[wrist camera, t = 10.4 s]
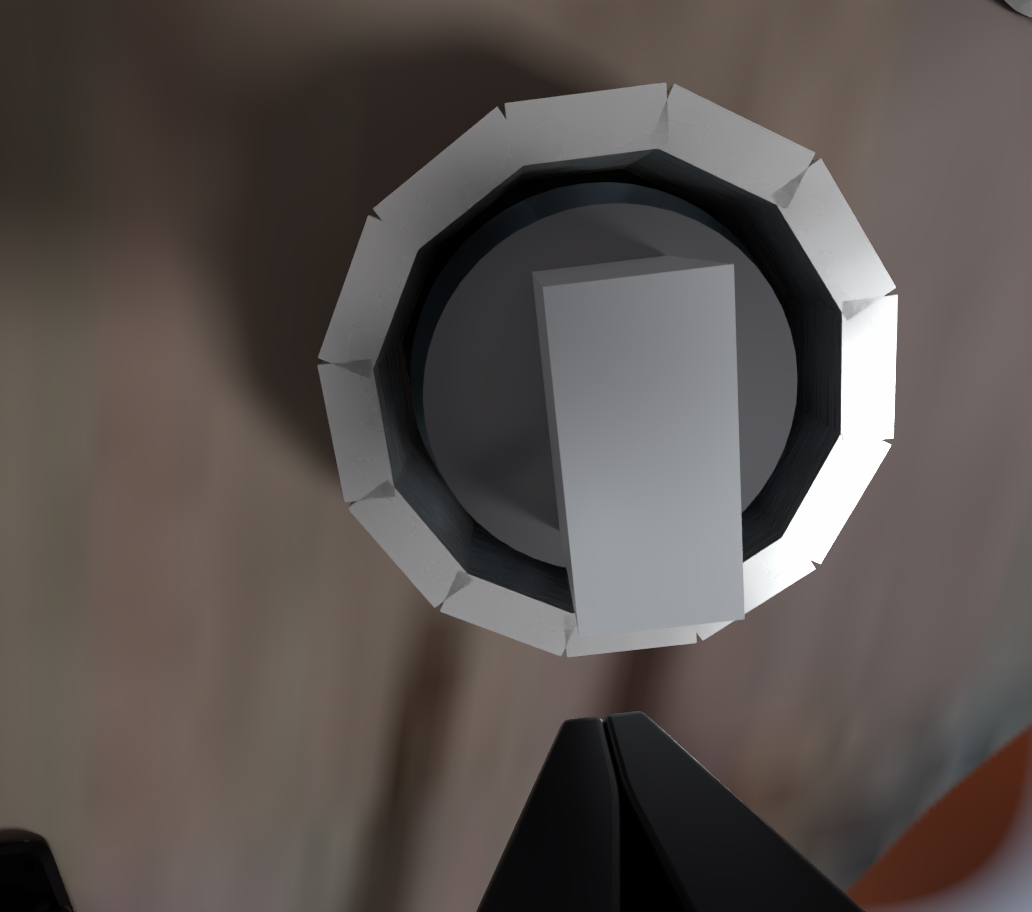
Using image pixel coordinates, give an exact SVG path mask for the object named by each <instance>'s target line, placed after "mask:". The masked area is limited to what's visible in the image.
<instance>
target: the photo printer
mask: <svg viewBox="0 0 1032 912" xmlns="http://www.w3.org/2000/svg"><path fill="white" fill-rule="evenodd" d="M1004 1H1006V2H1007V3H1008V4H1009V5H1010V6H1011V7H1012V8H1013V9H1014V10H1016V11H1018V12H1020V13H1021V14H1023V15H1026V16H1028V17H1031V18H1032V0H1004Z"/></svg>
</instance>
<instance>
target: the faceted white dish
mask: <svg viewBox="0 0 1032 912" xmlns="http://www.w3.org/2000/svg"><path fill="white" fill-rule="evenodd" d="M814 155H815V152H813V151H811V150H809V149H806V148H804V147H802V146H800V145H798V144H796V143H794V142H792V141H790V140H788V139H786V138H784V137H782V136H780V135H778V134H776V133H774V132H772V131H770V130H768V129H766V128H764V127H762V126H760V125H758V124H755V123H753V122H751V121H749V120H747V119H745V118H743V117H741V116H739V115H737V114H735V113H733V112H731V111H729V110H727V109H725V108H723V107H721V106H719V105H717V104H715V103H713V102H711V101H709V100H707V99H704V98H702V97H700V96H698V95H696V94H694V93H692V92H690V91H688V90H686V89H684V88H682V87H680V86H678V85H676V84H673V85H672V86H671V87H670V88H669V89H668V90H667V88H666V82H665V83H657V84H650V85H642V86H634V87H626V88H619V89H611V90H603V91H595V92H587V93H580V94H572V95H564V96H556V97H548V98H541V99H533V100H525V101H517V102H510V103H505V117H504V116H503V114H502V113H501V111H500V110H499V108H498V107H496V108H495V109H493V110H492V111H491V112H490V113H489V114H487V115H486V116H485V117H484V118H482V119H481V120H480V121H479V122H478V123H476V124H475V125H474V126H473V127H471V128H470V129H469V130H468V131H467V132H465V133H464V134H463V135H462V136H461V137H459V138H458V139H457V140H456V141H454V142H453V143H452V144H451V145H450V146H448V147H447V148H446V149H445V150H443V151H442V152H441V153H440V154H439V155H437V156H436V157H435V158H434V159H433V160H431V161H430V162H429V163H428V164H426V165H425V166H424V167H423V168H422V169H420V170H419V171H418V172H417V173H415V174H414V175H413V176H412V177H411V178H409V179H408V180H407V181H406V182H405V183H403V184H402V185H401V186H400V187H398V188H397V189H396V190H395V191H394V192H392V193H391V194H390V195H389V196H387V197H386V198H385V199H384V200H383V201H381V202H380V203H379V204H378V205H377V206H375V207H374V208H373V210H374V211H375V212H376V214H377V215H378V216H379V217H378V216H371V215H368V217H367V220H366V223H365V226H364V228H363V231H362V234H361V237H360V240H359V243H358V245H357V248H356V251H355V254H354V257H353V260H352V262H351V265H350V268H349V271H348V274H347V277H346V279H345V282H344V285H343V288H342V291H341V294H340V296H339V299H338V302H337V305H336V308H335V311H334V313H333V316H332V319H331V322H330V325H329V328H328V330H327V333H326V336H325V339H324V342H323V345H322V347H321V350H320V353H319V356H318V358H319V359H322V360H324V361H323V362H321V363H320V364H318V365H317V366H318V371H319V376H320V381H321V386H322V391H323V396H324V401H325V406H326V411H327V416H328V421H329V426H330V431H331V436H332V441H333V446H334V451H335V456H336V462H337V467H338V472H339V477H340V482H341V487H342V492H343V497H344V502H351V504H350V505H349V507H348V509H349V511H350V512H351V513H352V514H353V515H354V516H355V517H356V519H357V520H358V521H359V522H360V523H361V524H362V525H363V527H364V528H365V529H366V530H367V531H368V532H369V533H370V535H371V536H372V537H373V538H374V539H375V540H376V541H377V543H378V544H379V545H380V546H381V547H382V548H383V549H384V551H385V552H386V553H387V554H388V555H389V556H390V557H391V559H392V560H393V561H394V562H395V563H396V564H397V565H398V567H399V568H400V569H401V570H402V571H403V572H404V573H405V575H406V576H407V577H408V578H409V579H410V580H411V581H412V583H413V584H414V585H415V586H416V587H417V588H418V589H419V591H420V592H421V593H422V594H423V595H424V596H425V597H426V599H427V600H428V601H429V602H430V603H431V604H432V605H433V607H434V608H435V607H436V606H438V605H439V604H441V608H440V612H443V613H445V614H448V615H451V616H453V617H456V618H459V619H461V620H464V621H467V622H469V623H472V624H475V625H478V626H480V627H483V628H486V629H488V630H491V631H494V632H496V633H499V634H502V635H504V636H507V637H510V638H512V639H515V640H518V641H520V642H523V643H526V644H529V645H531V646H534V647H537V648H539V649H542V650H545V651H547V652H550V653H553V654H555V655H558V656H561V655H562V653H563V651H564V649H565V647H566V652H567V657H574V656H583V655H592V654H601V653H610V652H619V651H628V650H637V649H646V648H655V647H664V646H673V645H682V644H691V643H697V641H696V632H697V634H698V635H699V636H700V638H701V639H702V640H705V639H706V638H708V637H709V636H711V635H712V634H714V633H716V632H717V631H719V630H720V629H722V628H723V627H725V626H727V625H728V624H730V623H731V622H733V621H725V622H716V623H707V624H698V625H689V626H680V627H671V628H662V629H653V630H644V631H635V632H626V633H617V634H607V635H598V636H589V637H580V638H579V634H578V628H577V623H576V617H575V612H574V607H573V601H572V596H571V590H570V585H569V579H568V574H567V568H566V567H561V566H556V565H553V564H550V563H547V562H543V561H540V560H537V559H534V558H532V557H530V556H528V555H526V554H524V553H522V552H519V551H517V550H515V549H513V548H512V547H510V546H509V545H507V544H505V543H504V542H502V541H501V540H499V539H497V538H496V537H495V536H493V535H492V534H491V533H490V532H488V531H487V530H486V529H485V528H484V527H482V526H481V525H480V524H479V523H478V522H477V521H476V520H475V519H474V518H473V517H472V516H471V515H470V514H469V513H468V512H467V511H466V510H465V508H464V507H463V506H462V505H461V504H460V502H459V501H458V499H457V498H456V497H455V495H454V494H453V492H452V491H451V490H450V488H449V486H448V485H447V483H446V481H445V479H444V477H443V475H442V473H441V471H440V470H439V468H438V465H437V462H436V460H435V457H434V454H433V452H432V449H431V446H430V442H429V438H428V434H427V429H426V425H425V417H424V406H423V384H424V371H425V366H426V360H427V354H428V349H429V346H430V343H431V340H432V337H433V334H434V331H435V328H436V325H437V323H438V321H439V319H440V317H441V315H442V313H443V310H444V308H445V306H446V304H447V302H448V301H449V299H450V298H451V296H452V295H453V293H454V292H455V290H456V289H457V287H458V286H459V284H460V282H461V281H462V280H463V279H464V278H465V276H466V275H467V274H468V273H469V272H470V271H471V269H472V268H473V267H474V266H475V265H476V264H477V263H478V261H480V260H481V259H482V258H483V257H484V256H485V255H486V254H487V253H488V252H489V251H491V250H492V249H493V248H494V247H495V246H496V245H497V244H498V243H500V242H501V241H503V240H504V239H506V238H507V237H509V236H510V235H512V234H513V233H515V232H516V231H518V230H520V229H522V228H524V227H526V226H528V225H530V224H532V223H534V222H536V221H538V220H540V219H542V218H545V217H548V216H551V215H553V214H556V213H559V212H562V211H565V210H568V209H573V208H579V207H584V206H589V205H594V204H613V203H626V204H637V205H648V206H652V207H656V208H661V209H665V210H669V211H673V212H676V213H678V214H681V215H684V216H686V217H689V218H691V219H694V220H696V221H698V222H700V223H702V224H704V225H705V226H707V227H709V228H711V229H713V230H714V231H716V232H718V233H719V234H721V235H722V236H723V237H725V238H726V239H727V240H729V241H730V242H731V243H732V244H734V245H735V246H736V247H738V248H739V249H740V250H741V251H742V252H743V253H744V254H745V255H746V256H747V257H748V258H749V259H750V260H751V261H752V262H753V263H754V264H755V265H756V267H757V268H758V269H759V271H760V272H761V273H762V275H763V276H764V278H765V279H766V280H767V282H768V283H769V284H770V286H771V287H772V289H773V291H774V293H775V295H776V297H777V299H778V301H779V303H780V304H781V306H782V308H783V311H784V314H785V317H786V319H787V322H788V325H789V328H790V330H791V335H792V339H793V344H794V349H795V353H796V365H797V378H798V380H797V396H796V406H795V411H794V416H793V421H792V427H791V430H790V433H789V436H788V439H787V442H786V445H785V448H784V450H783V452H782V454H781V456H780V459H779V461H778V463H777V465H776V467H775V469H774V471H773V473H772V474H771V476H770V477H769V479H768V480H767V482H766V483H765V485H764V487H763V488H762V490H761V491H760V492H759V494H758V495H757V496H756V497H755V498H754V500H753V501H752V502H751V503H750V504H749V506H748V507H747V508H746V509H745V510H744V511H743V512H742V513H741V517H742V550H743V583H744V614H745V613H747V612H749V611H750V610H752V609H753V608H755V607H756V606H758V605H760V604H761V603H763V602H764V601H766V600H768V599H769V598H771V597H772V596H774V595H775V594H777V593H779V592H780V591H782V590H783V589H785V588H786V587H788V586H790V585H791V584H793V583H794V582H796V581H797V580H799V579H801V578H802V577H804V576H805V575H807V574H808V573H810V572H812V571H813V570H815V569H816V568H815V567H814V565H813V564H812V563H811V561H810V560H812V561H815V562H817V563H820V564H821V562H822V561H823V559H824V557H825V556H826V554H827V552H828V551H829V549H830V547H831V546H832V544H833V542H834V540H835V539H836V537H837V535H838V534H839V532H840V530H841V529H842V527H843V525H844V524H845V522H846V520H847V519H848V517H849V515H850V514H851V512H852V510H853V509H854V507H855V505H856V504H857V502H858V500H859V498H860V497H861V495H862V493H863V492H864V490H865V488H866V487H867V485H868V483H869V482H870V480H871V478H872V477H873V475H874V473H875V472H876V470H877V468H878V467H879V465H880V463H881V462H882V460H883V458H884V456H885V455H886V453H887V451H888V450H889V448H890V446H891V444H889V443H887V442H885V441H883V440H882V439H890V438H893V436H894V403H895V371H896V339H897V306H898V295H897V294H890V293H889V292H890V291H892V290H893V289H895V288H896V286H895V285H894V283H893V281H892V280H891V278H890V276H889V274H888V273H887V271H886V269H885V268H884V266H883V264H882V262H881V261H880V259H879V257H878V255H877V254H876V252H875V250H874V249H873V247H872V245H871V243H870V242H869V240H868V238H867V237H866V235H865V233H864V231H863V230H862V228H861V226H860V224H859V223H858V221H857V219H856V218H855V216H854V214H853V212H852V211H851V209H850V207H849V205H848V204H847V202H846V200H845V199H844V197H843V195H842V193H841V192H840V190H839V188H838V187H837V185H836V183H835V181H834V180H833V178H832V176H831V174H830V173H829V171H828V169H827V168H826V166H825V164H824V162H823V161H822V159H821V158H820V159H816V160H812V159H813V157H814ZM617 169H624V170H626V171H628V172H630V173H632V174H634V175H637V176H639V177H641V178H643V179H645V180H647V181H649V182H652V183H654V184H656V185H658V186H660V187H662V188H664V189H666V190H669V191H671V192H673V193H675V194H677V195H679V196H681V197H683V198H686V199H688V200H690V201H692V202H694V203H696V204H698V205H701V206H703V207H705V208H707V209H709V210H711V211H713V212H715V214H716V216H717V217H718V219H719V220H720V222H721V223H722V224H721V223H719V222H718V221H717V220H716V219H714V218H713V217H712V216H710V215H709V214H708V213H706V212H705V211H703V210H701V209H700V208H698V207H696V206H694V205H692V204H691V203H689V202H687V201H685V200H683V199H681V198H678V197H676V196H673V195H670V194H668V193H665V192H663V191H660V190H656V189H652V188H648V187H643V186H639V185H635V184H624V183H613V182H599V183H581V184H576V185H571V186H566V187H561V188H556V189H552V190H549V191H546V192H544V193H541V194H538V195H535V196H532V197H529V198H527V199H525V200H523V201H521V202H519V203H517V204H515V205H513V206H511V207H509V208H507V209H505V210H504V211H503V212H501V213H500V214H498V215H497V216H495V217H494V218H492V219H491V220H489V221H488V222H487V223H485V224H484V225H483V226H482V227H480V228H479V229H478V230H477V231H476V232H475V233H474V234H473V235H472V236H470V237H469V238H468V239H467V240H466V241H465V242H464V243H463V244H462V245H461V247H460V248H459V249H458V250H457V251H456V253H455V254H454V255H453V256H452V257H451V258H450V260H449V261H448V262H447V264H446V265H445V267H444V268H443V270H442V271H441V273H440V275H439V276H438V278H437V279H436V281H435V282H434V284H433V286H432V288H431V290H430V293H429V295H428V297H427V299H426V301H425V303H424V306H423V308H422V311H421V314H420V318H419V321H418V324H417V327H416V330H415V336H414V342H413V347H412V353H411V372H410V382H409V376H408V370H407V364H406V358H405V352H404V346H403V337H404V334H405V332H406V329H407V327H408V324H409V321H410V319H411V316H412V314H413V311H414V308H415V306H416V303H417V300H418V298H419V295H420V293H421V290H422V287H423V285H424V282H425V280H426V277H427V274H428V272H429V269H430V267H431V264H432V261H433V259H434V256H435V254H436V251H437V248H438V246H439V245H441V244H442V243H443V242H444V241H446V240H447V239H448V238H449V237H451V236H452V235H453V234H454V233H456V232H457V231H458V230H459V229H461V228H462V227H463V226H464V225H466V224H467V223H468V222H469V221H471V220H472V219H473V218H474V217H476V216H477V215H478V214H479V213H481V212H482V211H483V210H485V209H486V208H487V207H488V206H490V205H491V204H492V203H493V202H495V201H496V200H497V199H498V198H500V197H501V196H502V195H503V194H505V193H506V192H507V191H508V190H510V189H511V188H512V187H513V186H515V185H516V184H517V183H518V182H522V181H530V180H538V179H546V178H554V177H562V176H569V175H577V174H585V173H593V172H601V171H609V170H617ZM410 383H411V388H410ZM411 394H412V395H411ZM415 417H416V419H415ZM416 421H417V425H416ZM417 426H418V429H419V432H420V434H421V437H422V438H421V437H420V435H419V434H418V431H417ZM809 559H810V560H809Z"/></svg>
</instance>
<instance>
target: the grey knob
mask: <svg viewBox="0 0 1032 912" xmlns="http://www.w3.org/2000/svg"><path fill="white" fill-rule="evenodd" d="M797 380H798V378H797V365H796V353H795V349H794V344H793V339H792V335H791V330H790V328H789V325H788V322H787V319H786V317H785V314H784V311H783V308H782V306H781V304H780V303H779V301H778V299H777V297H776V295H775V293H774V291H773V289H772V287H771V286H770V284H769V283H768V282H767V280H766V279H765V278H764V276H763V275H762V273H761V272H760V271H759V269H758V268H757V267H756V265H755V264H754V263H753V262H752V261H751V260H750V259H749V258H748V257H747V256H746V255H745V254H744V253H743V252H742V251H741V250H740V249H739V248H738V247H736V246H735V245H734V244H732V243H731V242H730V241H729V240H727V239H726V238H725V237H723V236H722V235H721V234H719V233H718V232H716V231H714V230H713V229H711V228H709V227H707V226H705V225H704V224H702V223H700V222H698V221H696V220H694V219H691V218H689V217H686V216H684V215H681V214H678V213H676V212H673V211H669V210H665V209H661V208H656V207H652V206H648V205H637V204H626V203H613V204H594V205H589V206H584V207H579V208H573V209H568V210H565V211H562V212H559V213H556V214H553V215H551V216H548V217H545V218H542V219H540V220H538V221H536V222H534V223H532V224H530V225H528V226H526V227H524V228H522V229H520V230H518V231H516V232H515V233H513V234H512V235H510V236H509V237H507V238H506V239H504V240H503V241H501V242H500V243H498V244H497V245H496V246H495V247H494V248H493V249H492V250H491V251H489V252H488V253H487V254H486V255H485V256H484V257H483V258H482V259H481V260H480V261H478V263H477V264H476V265H475V266H474V267H473V268H472V269H471V271H470V272H469V273H468V274H467V275H466V276H465V278H464V279H463V280H462V281H461V282H460V284H459V286H458V287H457V289H456V290H455V292H454V293H453V295H452V296H451V298H450V299H449V301H448V302H447V304H446V306H445V308H444V310H443V313H442V315H441V317H440V319H439V321H438V323H437V325H436V328H435V331H434V334H433V337H432V340H431V343H430V346H429V349H428V354H427V360H426V366H425V371H424V384H423V406H424V417H425V425H426V429H427V434H428V438H429V442H430V446H431V449H432V452H433V454H434V457H435V460H436V462H437V465H438V468H439V470H440V471H441V473H442V475H443V477H444V479H445V481H446V483H447V485H448V486H449V488H450V490H451V491H452V492H453V494H454V495H455V497H456V498H457V499H458V501H459V502H460V504H461V505H462V506H463V507H464V508H465V510H466V511H467V512H468V513H469V514H470V515H471V516H472V517H473V518H474V519H475V520H476V521H477V522H478V523H479V524H480V525H481V526H482V527H484V528H485V529H486V530H487V531H488V532H490V533H491V534H492V535H493V536H495V537H496V538H497V539H499V540H501V541H502V542H504V543H505V544H507V545H509V546H510V547H512V548H513V549H515V550H517V551H519V552H522V553H524V554H526V555H528V556H530V557H532V558H534V559H537V560H540V561H543V562H547V563H550V564H553V565H556V566H561V567H566V568H567V574H568V579H569V585H570V590H571V596H572V601H573V607H574V612H575V617H576V623H577V628H578V634H579V638H580V637H589V636H598V635H607V634H617V633H626V632H635V631H644V630H653V629H662V628H671V627H680V626H689V625H698V624H707V623H716V622H725V621H734V620H743V619H745V616H744V583H743V550H742V517H741V513H742V512H743V511H744V510H745V509H746V508H747V507H748V506H749V504H750V503H751V502H752V501H753V500H754V498H755V497H756V496H757V495H758V494H759V492H760V491H761V490H762V488H763V487H764V485H765V483H766V482H767V480H768V479H769V477H770V476H771V474H772V473H773V471H774V469H775V467H776V465H777V463H778V461H779V459H780V456H781V454H782V452H783V450H784V448H785V445H786V442H787V439H788V436H789V433H790V430H791V427H792V421H793V416H794V411H795V406H796V396H797Z"/></svg>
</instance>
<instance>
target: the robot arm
mask: <svg viewBox="0 0 1032 912" xmlns="http://www.w3.org/2000/svg"><path fill="white" fill-rule="evenodd" d="M0 912H74V911H73V908H72V906H71V903H70V900H69V898H68V895H67V892H66V890H65V887H64V885H63V882H62V879H61V877H60V874H59V871H58V869H57V866H56V863H55V861H54V858H53V855H52V853H51V851H50V850H49V848H48V847H46V846H45V845H44V844H42V843H39V842H35V841H27V842H18V843H8V844H0ZM476 912H865V911H864V910H863V909H862V908H861V907H859V906H858V905H857V904H856V903H855V902H854V901H853V900H852V899H851V898H850V897H848V896H847V895H846V894H845V893H844V892H843V891H842V890H841V889H840V888H838V887H837V886H836V885H835V884H834V883H833V882H832V881H831V880H830V879H828V878H827V877H826V876H825V875H824V874H823V873H822V872H821V871H820V870H818V869H817V868H816V867H815V866H814V865H813V864H812V863H811V862H810V861H808V860H807V859H806V858H805V857H804V856H803V855H802V854H801V853H800V852H798V851H797V850H796V849H795V848H794V847H793V846H792V845H791V844H790V843H788V842H787V841H786V840H785V839H784V838H783V837H782V836H781V835H780V834H778V833H777V832H776V831H775V830H774V829H773V828H772V827H771V826H769V825H768V824H767V823H766V822H765V821H764V820H763V819H762V818H761V817H759V816H758V815H757V814H756V813H755V812H754V811H753V810H752V809H751V808H749V807H748V806H747V805H746V804H745V803H744V802H743V801H742V800H741V799H739V798H738V797H737V796H736V795H735V794H734V793H733V792H732V791H731V790H729V789H728V788H727V787H726V786H725V785H724V784H723V783H722V782H721V781H719V780H718V779H717V778H716V777H715V776H714V775H713V774H712V773H711V772H709V771H708V770H707V769H706V768H705V767H704V766H703V765H702V764H701V763H699V762H698V761H697V760H696V759H695V758H694V757H693V756H692V755H691V754H689V753H688V752H687V751H686V750H685V749H684V748H683V747H682V746H681V745H679V744H678V743H677V742H676V741H675V740H674V739H673V738H672V737H671V736H669V735H668V734H667V733H666V732H665V731H664V730H663V729H662V728H661V727H659V726H658V725H657V724H656V723H655V722H654V721H653V720H652V719H651V718H649V717H648V716H647V715H646V714H645V713H643V712H640V711H635V712H627V713H619V714H611V715H608V716H606V717H605V719H604V723H603V721H602V719H601V718H599V717H586V718H578V719H570V720H566V721H564V722H563V723H562V725H561V727H560V729H559V731H558V733H557V736H556V738H555V740H554V742H553V744H552V747H551V749H550V751H549V753H548V755H547V758H546V760H545V762H544V764H543V766H542V769H541V771H540V773H539V775H538V777H537V780H536V782H535V784H534V786H533V788H532V791H531V793H530V795H529V797H528V799H527V802H526V804H525V806H524V808H523V810H522V812H521V815H520V817H519V819H518V821H517V823H516V826H515V828H514V830H513V832H512V834H511V837H510V839H509V841H508V843H507V845H506V848H505V850H504V852H503V854H502V856H501V859H500V861H499V863H498V865H497V867H496V870H495V872H494V874H493V876H492V878H491V881H490V883H489V885H488V887H487V889H486V892H485V894H484V896H483V898H482V900H481V903H480V905H479V907H478V909H477V911H476Z"/></svg>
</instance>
